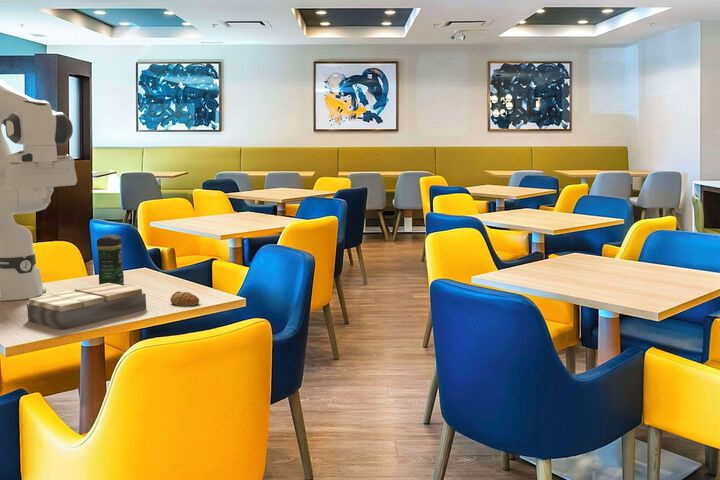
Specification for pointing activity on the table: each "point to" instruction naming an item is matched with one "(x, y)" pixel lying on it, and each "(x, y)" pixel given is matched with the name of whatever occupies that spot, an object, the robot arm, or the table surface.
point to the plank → (111, 291)
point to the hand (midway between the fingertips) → (44, 202)
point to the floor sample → (79, 308)
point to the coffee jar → (110, 260)
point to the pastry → (184, 299)
